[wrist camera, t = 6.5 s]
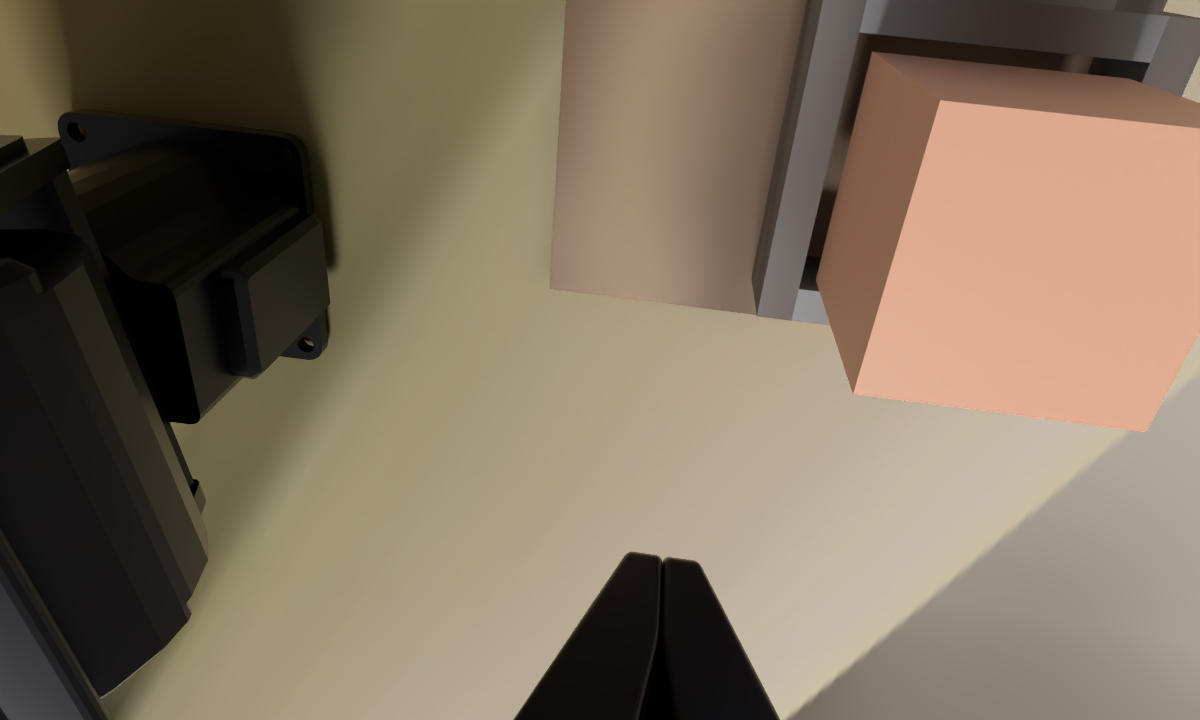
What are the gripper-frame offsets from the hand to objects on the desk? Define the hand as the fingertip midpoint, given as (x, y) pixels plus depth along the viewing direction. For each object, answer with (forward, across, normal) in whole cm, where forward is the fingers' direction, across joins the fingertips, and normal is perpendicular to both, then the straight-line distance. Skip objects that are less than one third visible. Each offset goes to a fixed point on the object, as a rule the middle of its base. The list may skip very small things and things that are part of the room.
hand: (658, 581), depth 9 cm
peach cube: (+10, -6, -2) cm, 11 cm away
